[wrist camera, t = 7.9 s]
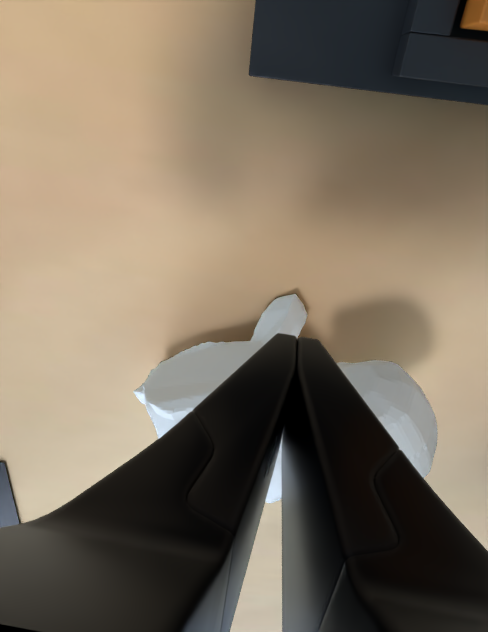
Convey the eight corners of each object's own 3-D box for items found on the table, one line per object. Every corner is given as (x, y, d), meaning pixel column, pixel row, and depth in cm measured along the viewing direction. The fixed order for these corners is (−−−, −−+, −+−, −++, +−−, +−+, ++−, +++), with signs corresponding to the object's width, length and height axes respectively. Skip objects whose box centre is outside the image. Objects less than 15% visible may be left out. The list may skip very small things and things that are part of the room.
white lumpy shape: (240, 410, 31) (473, 415, 22) (171, 516, 25) (446, 586, 16) (180, 311, 28) (423, 266, 18) (85, 407, 22) (367, 414, 13)
